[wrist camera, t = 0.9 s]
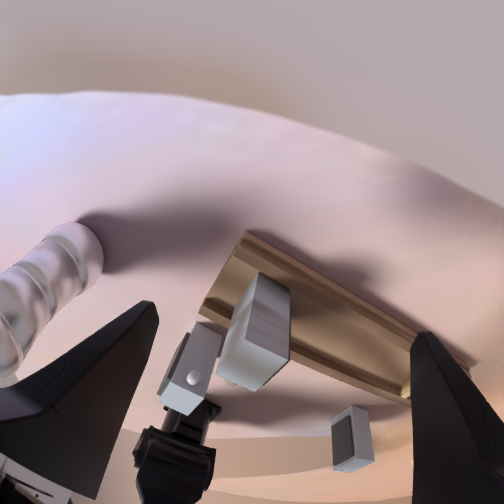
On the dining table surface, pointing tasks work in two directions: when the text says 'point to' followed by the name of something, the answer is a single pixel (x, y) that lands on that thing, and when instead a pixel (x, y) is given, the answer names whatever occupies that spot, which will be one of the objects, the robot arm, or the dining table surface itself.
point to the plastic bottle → (44, 288)
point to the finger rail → (303, 325)
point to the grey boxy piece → (351, 440)
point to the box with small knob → (190, 370)
